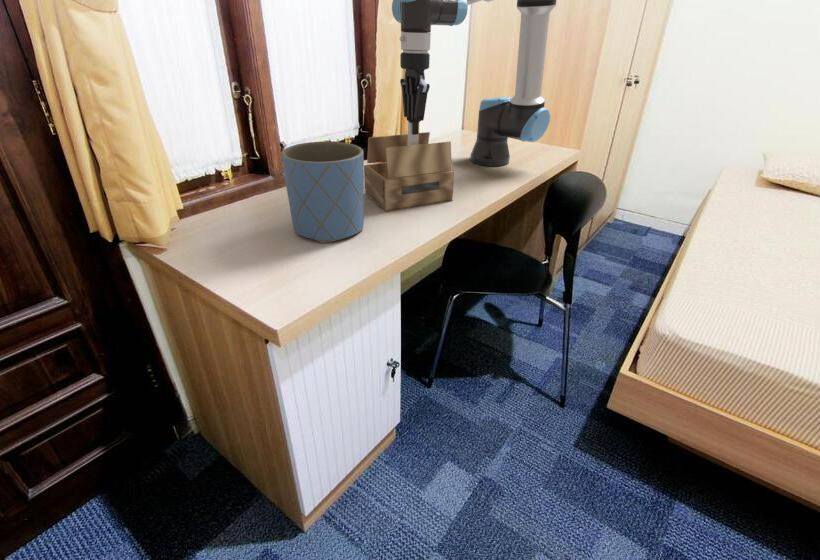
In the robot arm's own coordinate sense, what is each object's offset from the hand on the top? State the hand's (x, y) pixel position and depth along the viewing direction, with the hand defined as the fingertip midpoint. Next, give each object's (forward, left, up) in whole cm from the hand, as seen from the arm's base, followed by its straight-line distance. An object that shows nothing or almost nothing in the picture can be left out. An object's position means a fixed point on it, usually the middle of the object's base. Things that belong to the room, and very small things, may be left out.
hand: (412, 145), depth 123 cm
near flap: (0, +4, -3) cm, 5 cm away
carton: (0, -3, -16) cm, 16 cm away
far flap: (0, -9, -3) cm, 10 cm away
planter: (+29, +10, -17) cm, 35 cm away
